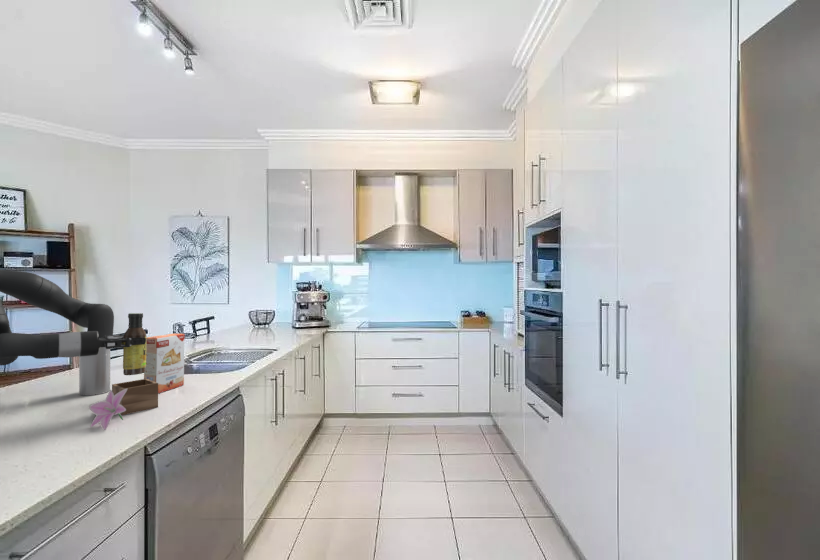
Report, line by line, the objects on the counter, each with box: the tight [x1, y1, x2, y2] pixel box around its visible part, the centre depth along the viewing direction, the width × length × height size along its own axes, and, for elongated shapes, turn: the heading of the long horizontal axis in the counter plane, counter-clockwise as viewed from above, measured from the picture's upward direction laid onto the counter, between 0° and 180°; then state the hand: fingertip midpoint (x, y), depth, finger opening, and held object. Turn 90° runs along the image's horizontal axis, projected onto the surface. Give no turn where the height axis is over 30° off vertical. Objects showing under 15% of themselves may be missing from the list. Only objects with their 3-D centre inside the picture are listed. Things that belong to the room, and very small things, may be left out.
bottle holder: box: [111, 378, 159, 416], centre depth 133 cm, size 10×10×8 cm
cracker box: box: [143, 333, 186, 394], centre depth 156 cm, size 14×6×21 cm, turn 168°
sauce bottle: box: [122, 312, 147, 376], centre depth 133 cm, size 6×6×20 cm
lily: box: [88, 389, 127, 431], centre depth 118 cm, size 12×12×10 cm
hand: (143, 339), depth 134 cm, fingers closed on sauce bottle, 6 cm apart
